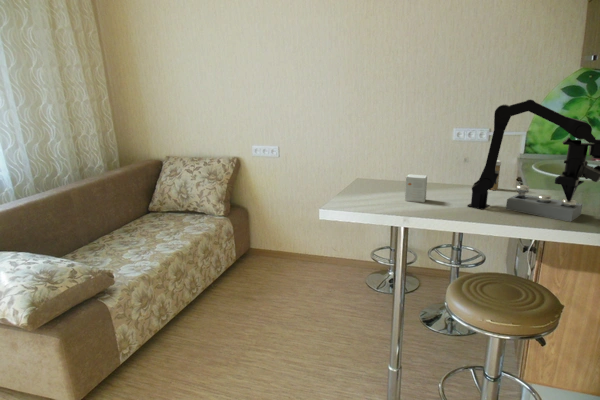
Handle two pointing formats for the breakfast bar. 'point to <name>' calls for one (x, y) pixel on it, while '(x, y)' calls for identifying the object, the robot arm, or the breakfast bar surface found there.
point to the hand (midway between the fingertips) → (569, 200)
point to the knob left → (522, 191)
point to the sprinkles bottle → (498, 175)
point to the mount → (544, 208)
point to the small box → (416, 188)
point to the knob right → (568, 203)
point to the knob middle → (544, 198)
